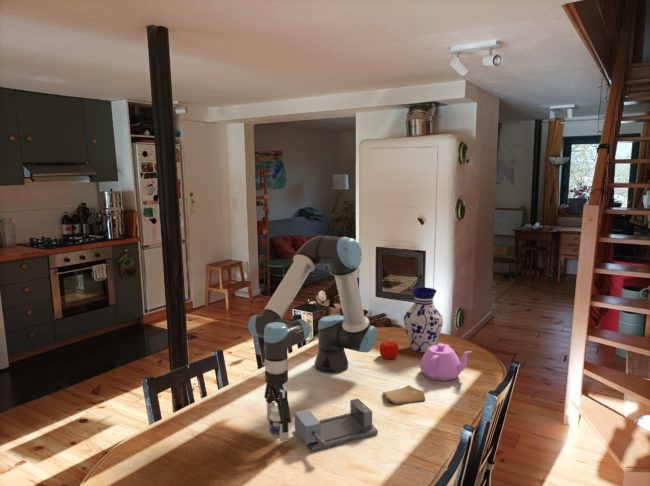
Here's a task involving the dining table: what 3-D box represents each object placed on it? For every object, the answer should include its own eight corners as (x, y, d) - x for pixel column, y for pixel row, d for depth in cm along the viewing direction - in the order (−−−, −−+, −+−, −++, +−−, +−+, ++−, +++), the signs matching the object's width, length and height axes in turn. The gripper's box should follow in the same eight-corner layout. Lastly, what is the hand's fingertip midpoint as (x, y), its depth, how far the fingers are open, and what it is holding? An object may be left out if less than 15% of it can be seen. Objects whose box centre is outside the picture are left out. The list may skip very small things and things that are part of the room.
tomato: (385, 352, 229) (385, 337, 228) (401, 356, 224) (401, 341, 223) (375, 358, 221) (375, 343, 220) (392, 363, 216) (392, 347, 215)
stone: (426, 402, 180) (426, 394, 180) (388, 407, 176) (389, 399, 176) (414, 389, 190) (414, 382, 190) (378, 394, 187) (378, 386, 186)
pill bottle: (270, 429, 161) (269, 404, 159) (285, 428, 161) (285, 404, 160) (269, 437, 155) (269, 412, 154) (285, 437, 156) (285, 412, 155)
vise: (295, 430, 160) (295, 409, 159) (357, 415, 170) (357, 395, 169) (311, 452, 147) (311, 429, 146) (377, 434, 157) (377, 413, 156)
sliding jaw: (294, 429, 157) (294, 412, 156) (308, 425, 159) (308, 409, 158) (315, 457, 141) (315, 438, 141) (330, 453, 144) (330, 434, 143)
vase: (395, 349, 233) (396, 290, 228) (416, 339, 246) (417, 283, 242) (429, 359, 220) (431, 297, 215) (449, 348, 234) (451, 289, 229)
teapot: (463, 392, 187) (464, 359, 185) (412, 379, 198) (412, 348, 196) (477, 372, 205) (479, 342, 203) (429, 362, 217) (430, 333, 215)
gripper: (254, 358, 165) (256, 415, 168) (277, 387, 142) (279, 452, 145) (275, 355, 168) (276, 411, 171) (301, 382, 145) (301, 446, 148)
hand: (277, 430), depth 158 cm, fingers open, 13 cm apart
